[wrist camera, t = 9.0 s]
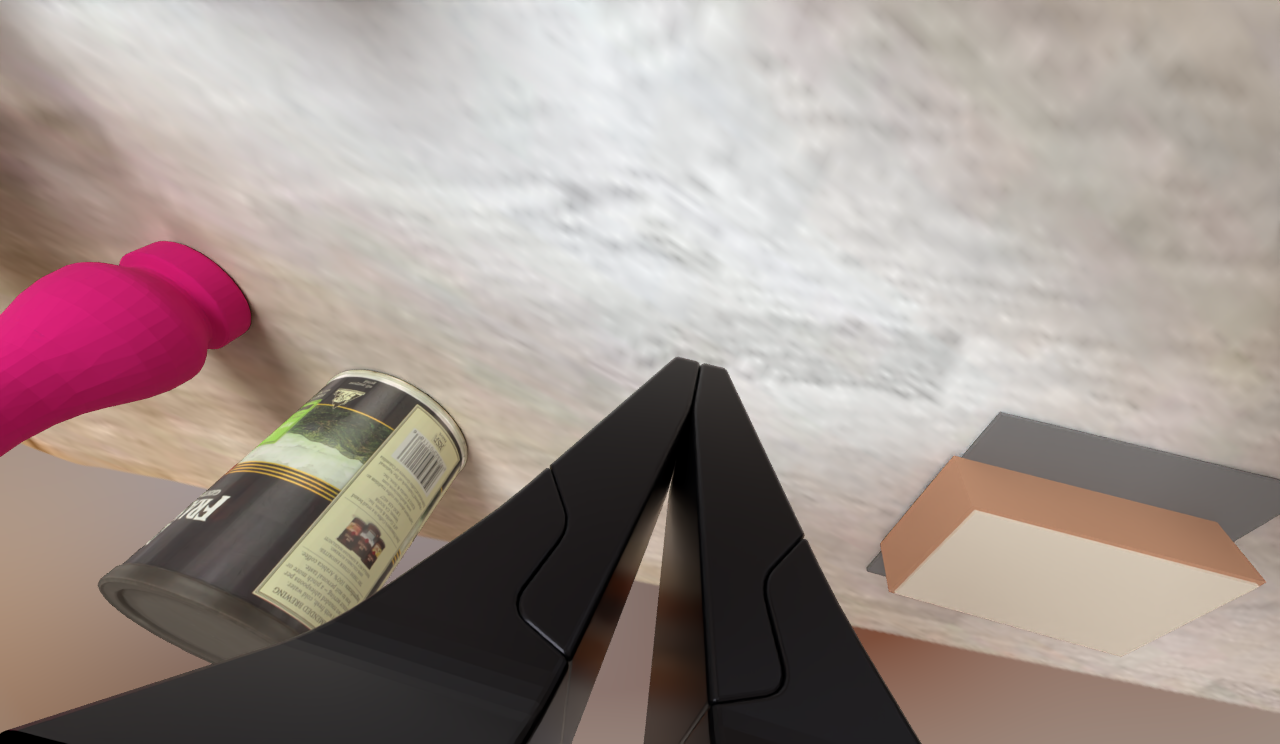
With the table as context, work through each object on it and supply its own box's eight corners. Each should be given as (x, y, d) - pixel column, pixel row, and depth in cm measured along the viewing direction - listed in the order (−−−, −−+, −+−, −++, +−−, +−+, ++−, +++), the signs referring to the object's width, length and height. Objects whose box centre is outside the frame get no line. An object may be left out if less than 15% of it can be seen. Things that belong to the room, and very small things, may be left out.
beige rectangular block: (953, 455, 24) (1217, 522, 23) (880, 543, 29) (1092, 601, 28) (973, 508, 21) (1269, 585, 20) (889, 594, 26) (1122, 659, 25)
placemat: (1313, 488, 21) (1317, 492, 21) (1081, 627, 30) (1082, 630, 30) (1000, 411, 22) (1001, 415, 22) (866, 568, 31) (866, 571, 31)
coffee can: (306, 412, 34) (87, 607, 23) (360, 340, 29) (103, 554, 18) (426, 496, 38) (283, 701, 27) (497, 446, 32) (351, 682, 21)
